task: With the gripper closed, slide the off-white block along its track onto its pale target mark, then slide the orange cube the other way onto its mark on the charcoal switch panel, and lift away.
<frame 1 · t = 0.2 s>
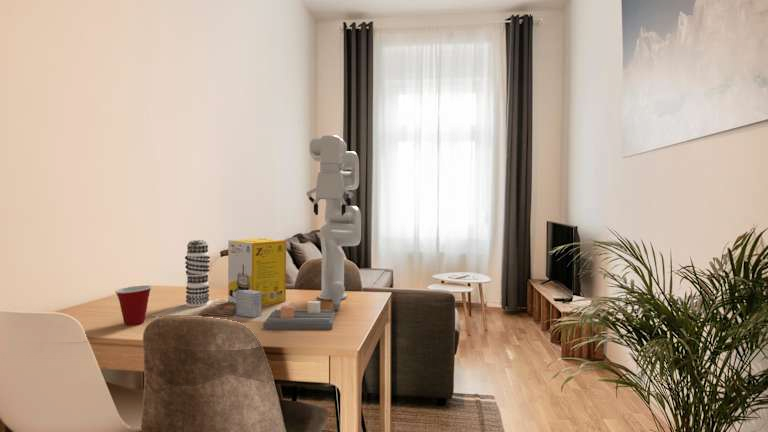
hand: (329, 215, 171), 36 cm above the table, tool pointing down, fingers open, 9 cm apart
off-white block: (314, 307, 159), point 4 cm above the table, slide at 10.0 cm
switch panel: (301, 322, 156), on the table
plastic cup: (133, 323, 152), on the table
medicine box: (248, 315, 165), on the table
lightbulb: (336, 310, 174), on the table
orange cube: (287, 312, 152), point 4 cm above the table, slide at 2.0 cm
decorative candle: (197, 304, 181), on the table
packaging box: (257, 302, 187), on the table
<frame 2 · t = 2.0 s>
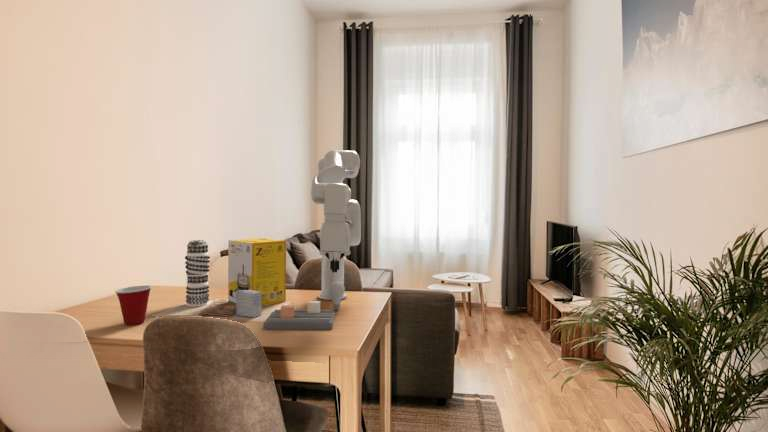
hand: (334, 271, 159), 17 cm above the table, tool pointing down, fingers closed
nothing on the table moved.
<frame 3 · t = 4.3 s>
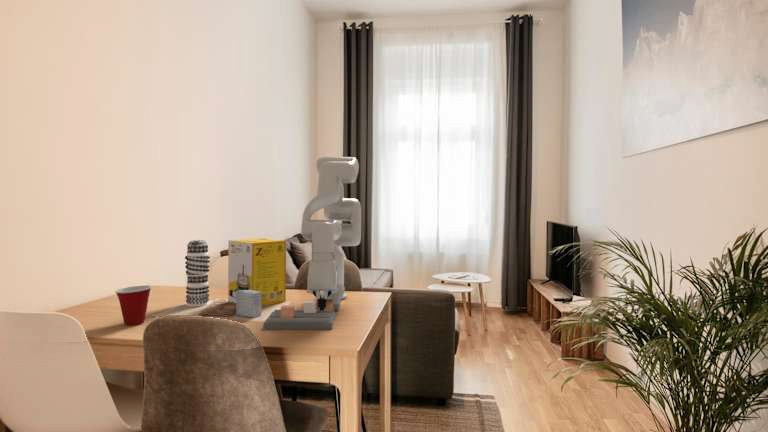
hand: (322, 309, 159), 4 cm above the table, tool pointing down, fingers closed
off-white block: (310, 307, 159), point 4 cm above the table, slide at 8.6 cm, touching gripper
everything else where it was.
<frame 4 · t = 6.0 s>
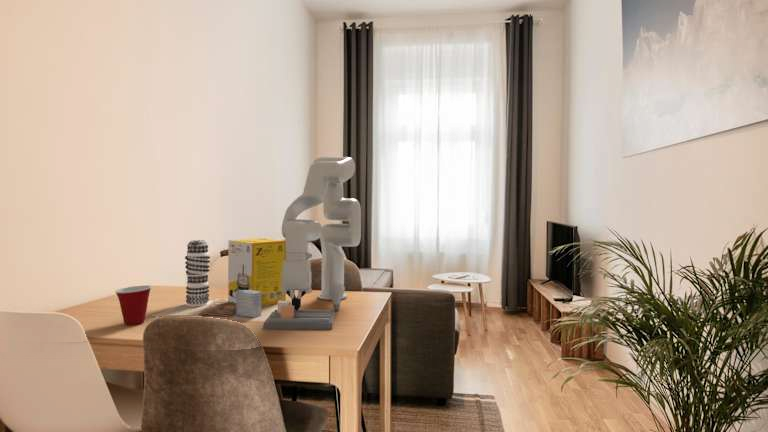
hand: (296, 309, 159), 4 cm above the table, tool pointing down, fingers closed
off-white block: (284, 307, 159), point 4 cm above the table, slide at -0.3 cm, touching gripper
everything else where it was.
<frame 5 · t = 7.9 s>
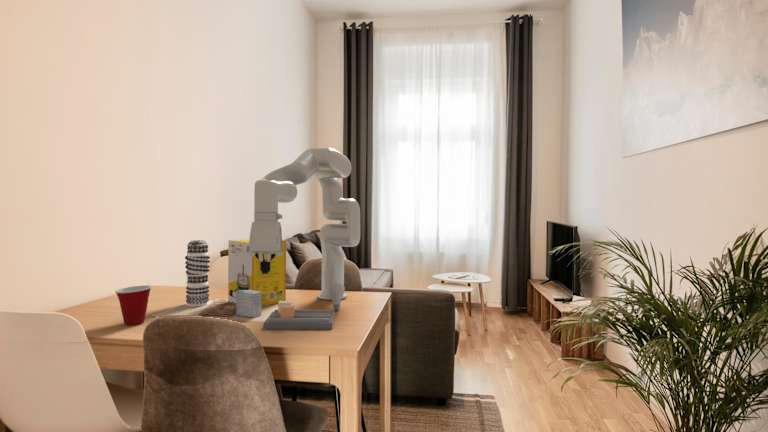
hand: (265, 273, 151), 17 cm above the table, tool pointing down, fingers closed
off-white block: (284, 307, 159), point 4 cm above the table, slide at -0.1 cm
everything else where it was.
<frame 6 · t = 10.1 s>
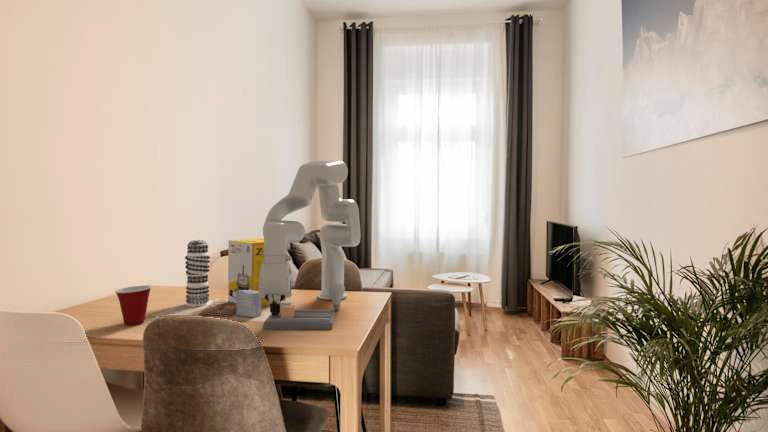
hand: (275, 314, 152), 4 cm above the table, tool pointing down, fingers closed
orange cube: (287, 312, 152), point 4 cm above the table, slide at 2.0 cm, touching gripper
everything else where it was.
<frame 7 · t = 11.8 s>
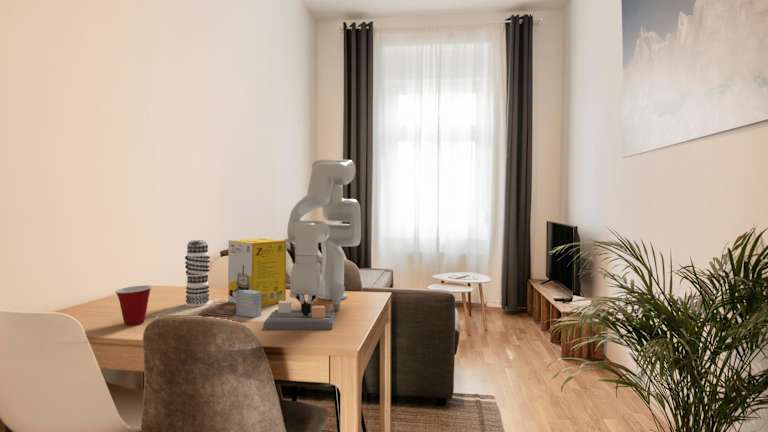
hand: (306, 314, 152), 4 cm above the table, tool pointing down, fingers closed
orange cube: (318, 312, 152), point 4 cm above the table, slide at 12.2 cm, touching gripper
everything else where it was.
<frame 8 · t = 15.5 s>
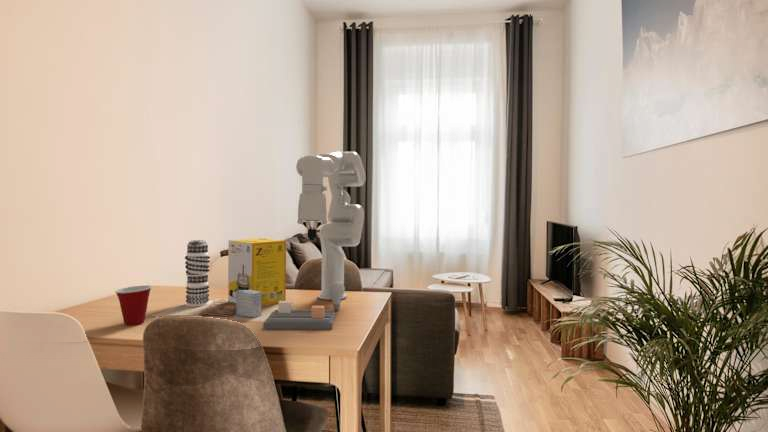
hand: (311, 239, 168), 27 cm above the table, tool pointing down, fingers closed
orange cube: (318, 312, 152), point 4 cm above the table, slide at 12.1 cm
everything else where it was.
at the end: off-white block slide at -0.1 cm; orange cube slide at 12.1 cm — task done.
